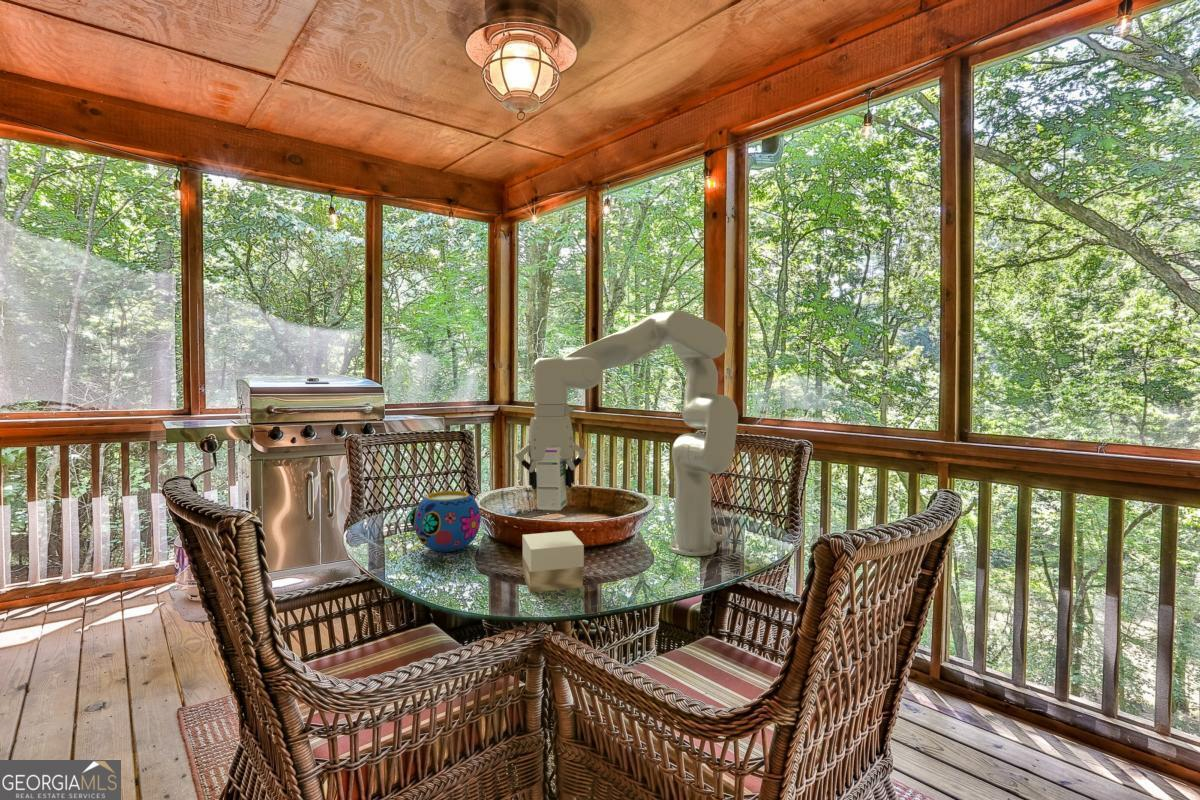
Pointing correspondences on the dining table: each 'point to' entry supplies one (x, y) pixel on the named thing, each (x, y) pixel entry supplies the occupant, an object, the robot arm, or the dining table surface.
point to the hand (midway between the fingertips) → (551, 487)
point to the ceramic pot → (446, 520)
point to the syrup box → (551, 480)
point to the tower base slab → (552, 578)
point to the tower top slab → (552, 551)
